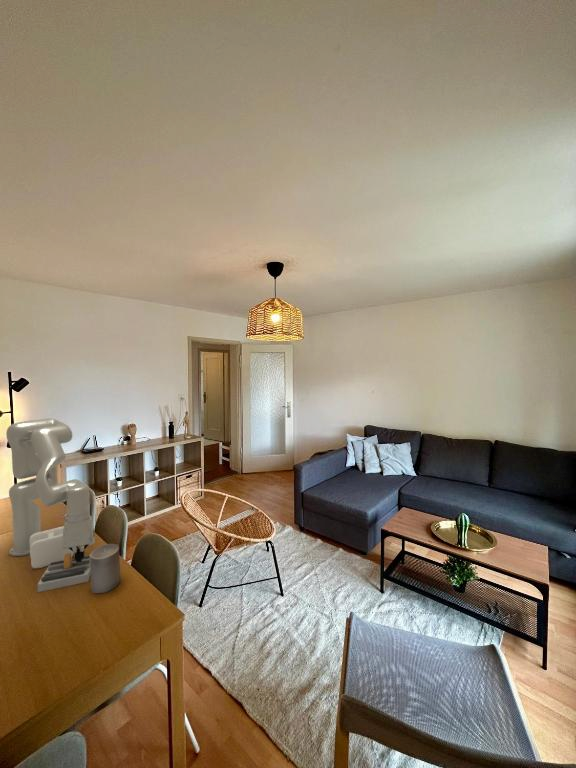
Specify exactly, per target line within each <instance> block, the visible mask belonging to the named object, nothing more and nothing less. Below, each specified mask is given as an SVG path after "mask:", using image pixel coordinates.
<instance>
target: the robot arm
mask: <svg viewBox="0 0 576 768" xmlns="http://www.w3.org/2000/svg"><path fill="white" fill-rule="evenodd" d="M72 439H73V432H72V429H71V427H69V425H67V424H66V423H64V422H62V421H60V420H58V419H55V418H42V419H33V420H23V421H19V422H18V421H17V422H15V423H11V425H9V426H8V427H7V429H6V440H7V442H8V445H9V447H10V449H11V464H12V466H11V467H12V475H13V477H14V478H16V479H17V480H22V481H19V482H16V483H15V484H13V485H12V486H11V487H10V488H9V489H8V490H9V491H8V496H9V500H10V504H11V511H12V528H13V529H12V534H13V546H12V547H11V548H10V549H9V555H10V556H11V557H23V556H27V555H30V536H31V535H33V534H34V533H37V532H41V531H42V529H41V525H42V524H41V509H40V506H39V505H38V504H37V503H35V500H38V499H40V502H41V503H42V504H43V505H44V506H45V507H52V506H55V505H58V504H62V503H64V502H66V514H63V515H62V519H65V521H64V523H63V526H64V528H63V540H62V545H63V549H70V550H71V551H73V554H74V558H75V559H76V563H77V562H81V561H82V558H84V556H85V550H86V549H87V547H89V546H92V545H94V544H95V543H96V542H95V541H96V540H95V527H94V525H95V524H94V521H93V517H92V515H91V509H90V505H91V504H90V486H89V485H88V484H86V483H83V482H82V481H81V480H80V479H75V478H74V479H70V480H66V481H62V482H60V483H59V482H58V465H60V464H61V463H63V462H64V461H65V459H66V457H67V456H66V453H65V451H64V450H63V447H62V444H65V443H69V442H70V441H72ZM33 477H35V478H33ZM28 478H29V479H28ZM23 479H27V480H23ZM79 547H80V548H79Z"/></svg>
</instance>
